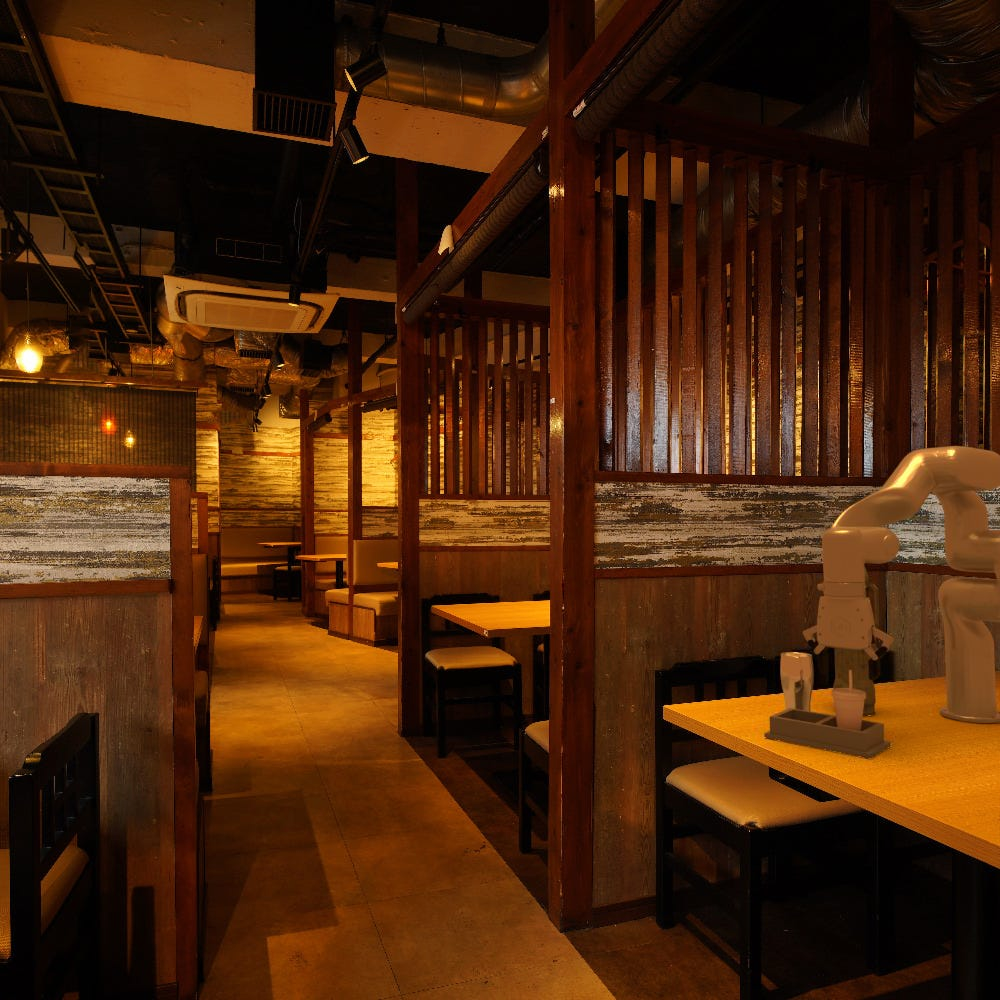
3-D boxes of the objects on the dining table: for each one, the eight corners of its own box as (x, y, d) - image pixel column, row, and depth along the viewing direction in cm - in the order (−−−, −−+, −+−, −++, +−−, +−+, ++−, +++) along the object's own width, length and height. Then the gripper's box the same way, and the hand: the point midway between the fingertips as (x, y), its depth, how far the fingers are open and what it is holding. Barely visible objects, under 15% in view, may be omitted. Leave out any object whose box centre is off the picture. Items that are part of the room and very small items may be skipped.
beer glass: (817, 726, 164) (815, 657, 165) (784, 724, 166) (782, 656, 166) (811, 718, 171) (809, 652, 172) (779, 717, 173) (777, 651, 173)
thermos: (831, 705, 183) (827, 561, 185) (885, 711, 176) (880, 562, 178) (823, 712, 176) (818, 563, 177) (878, 719, 169) (873, 564, 170)
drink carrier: (787, 727, 164) (787, 706, 164) (890, 746, 149) (890, 723, 149) (764, 738, 156) (763, 716, 156) (870, 759, 141) (869, 735, 141)
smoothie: (852, 746, 145) (851, 674, 145) (824, 738, 151) (823, 668, 151) (874, 742, 148) (873, 670, 148) (846, 734, 154) (844, 665, 154)
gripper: (794, 590, 154) (797, 673, 153) (884, 594, 141) (888, 685, 141) (809, 587, 159) (813, 668, 159) (897, 590, 147) (901, 678, 146)
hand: (848, 676), depth 150 cm, fingers open, 9 cm apart
